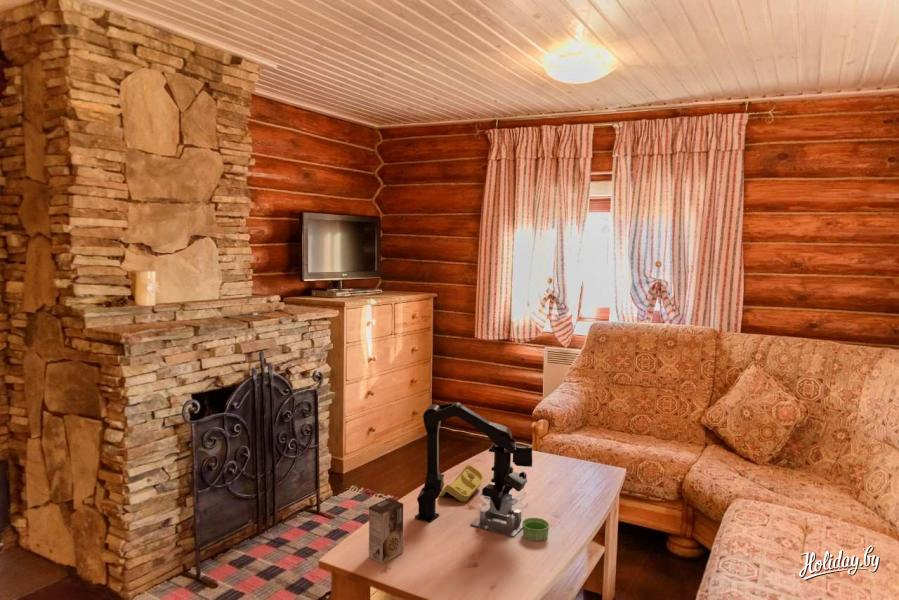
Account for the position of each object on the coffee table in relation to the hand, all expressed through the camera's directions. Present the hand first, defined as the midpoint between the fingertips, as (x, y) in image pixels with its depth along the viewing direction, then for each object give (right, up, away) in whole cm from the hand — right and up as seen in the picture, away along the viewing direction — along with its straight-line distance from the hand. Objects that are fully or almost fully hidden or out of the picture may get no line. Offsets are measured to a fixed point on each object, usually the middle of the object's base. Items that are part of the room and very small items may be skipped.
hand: (500, 508), depth 212 cm
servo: (0, -1, 0) cm, 1 cm away
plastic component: (-12, -3, +27) cm, 29 cm away
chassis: (0, -5, +1) cm, 5 cm away
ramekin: (+11, -7, -8) cm, 15 cm away
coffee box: (-37, -7, -23) cm, 44 cm away
